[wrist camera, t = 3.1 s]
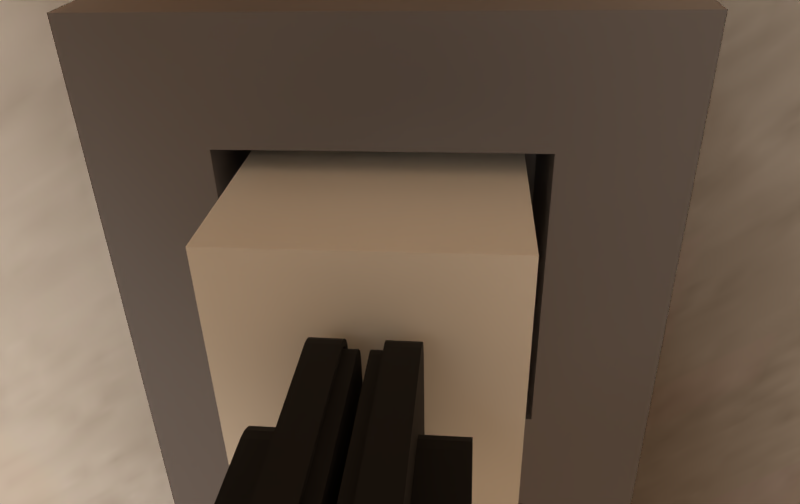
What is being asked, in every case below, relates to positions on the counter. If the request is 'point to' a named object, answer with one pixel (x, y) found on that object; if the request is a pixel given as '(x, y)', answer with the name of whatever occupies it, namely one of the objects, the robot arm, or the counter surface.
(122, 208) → the key panel
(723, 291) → the counter surface
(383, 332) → the off-white key
